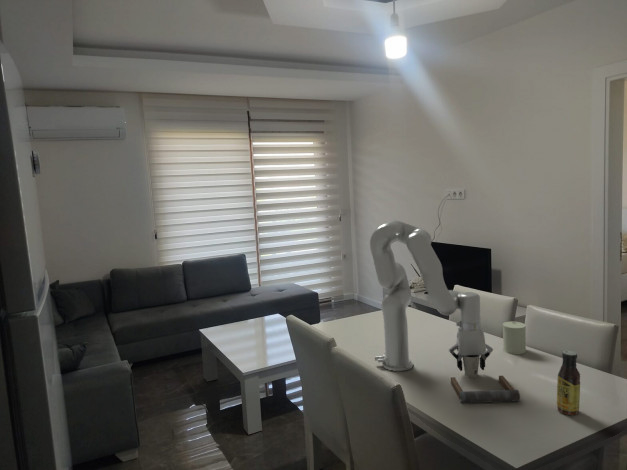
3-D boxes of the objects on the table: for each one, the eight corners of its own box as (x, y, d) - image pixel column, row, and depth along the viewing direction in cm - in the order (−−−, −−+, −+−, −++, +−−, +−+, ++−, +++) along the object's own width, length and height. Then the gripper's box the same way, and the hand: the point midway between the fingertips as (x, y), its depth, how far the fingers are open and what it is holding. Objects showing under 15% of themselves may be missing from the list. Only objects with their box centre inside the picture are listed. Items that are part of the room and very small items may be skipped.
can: (524, 347, 194) (524, 320, 193) (527, 355, 186) (527, 327, 184) (502, 345, 197) (501, 319, 196) (503, 353, 189) (503, 326, 187)
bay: (462, 404, 148) (462, 394, 148) (450, 383, 164) (450, 374, 164) (520, 403, 147) (520, 392, 147) (503, 382, 163) (502, 372, 162)
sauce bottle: (552, 407, 143) (552, 348, 141) (570, 405, 144) (570, 347, 141) (565, 418, 137) (565, 356, 134) (584, 415, 137) (585, 354, 135)
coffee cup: (482, 379, 166) (481, 353, 165) (463, 378, 168) (462, 353, 167) (479, 371, 173) (478, 346, 172) (460, 370, 174) (460, 346, 173)
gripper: (449, 329, 165) (450, 374, 167) (496, 327, 164) (497, 372, 166) (444, 322, 172) (446, 365, 174) (490, 321, 171) (490, 364, 173)
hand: (471, 368), depth 170 cm, fingers open, 7 cm apart
